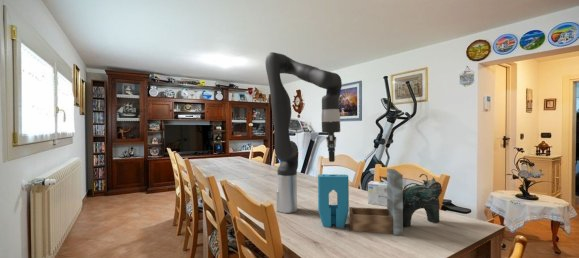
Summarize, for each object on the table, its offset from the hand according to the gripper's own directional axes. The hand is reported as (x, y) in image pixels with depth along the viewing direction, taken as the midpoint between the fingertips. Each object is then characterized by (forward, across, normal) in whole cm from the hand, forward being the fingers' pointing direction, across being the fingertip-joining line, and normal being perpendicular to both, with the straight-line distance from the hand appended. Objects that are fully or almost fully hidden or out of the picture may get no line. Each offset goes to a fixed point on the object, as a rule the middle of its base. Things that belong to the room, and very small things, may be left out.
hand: (331, 160), depth 109 cm
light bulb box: (+26, -32, +23) cm, 48 cm away
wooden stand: (+26, +1, +16) cm, 31 cm away
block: (+26, +1, 0) cm, 26 cm away
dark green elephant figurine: (+27, -5, +35) cm, 44 cm away
